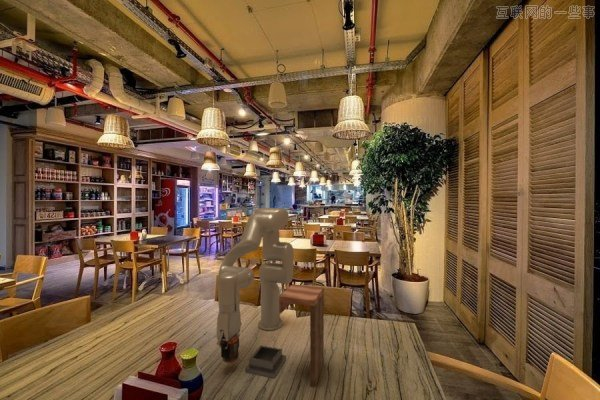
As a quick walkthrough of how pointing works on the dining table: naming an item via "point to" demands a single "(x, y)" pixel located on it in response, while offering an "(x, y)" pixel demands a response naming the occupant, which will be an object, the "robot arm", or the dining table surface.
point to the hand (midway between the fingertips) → (230, 351)
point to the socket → (266, 362)
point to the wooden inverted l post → (316, 302)
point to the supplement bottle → (232, 349)
